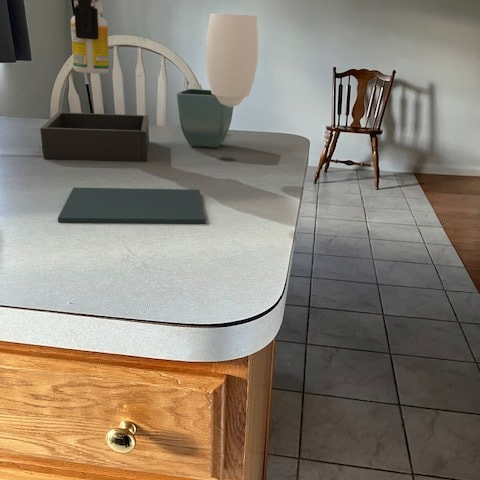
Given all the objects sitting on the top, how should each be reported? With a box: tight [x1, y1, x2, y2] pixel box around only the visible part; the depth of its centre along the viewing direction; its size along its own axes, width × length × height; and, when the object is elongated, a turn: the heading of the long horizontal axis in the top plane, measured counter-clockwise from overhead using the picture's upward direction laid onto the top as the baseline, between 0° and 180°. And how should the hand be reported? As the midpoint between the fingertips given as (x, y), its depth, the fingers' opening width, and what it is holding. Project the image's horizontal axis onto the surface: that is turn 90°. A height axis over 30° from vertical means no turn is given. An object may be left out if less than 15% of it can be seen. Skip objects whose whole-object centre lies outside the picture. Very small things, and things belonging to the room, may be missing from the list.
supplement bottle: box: [70, 0, 110, 74], centre depth 82 cm, size 5×5×10 cm
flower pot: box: [176, 88, 234, 149], centre depth 96 cm, size 9×9×9 cm
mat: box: [57, 187, 207, 225], centre depth 65 cm, size 16×12×1 cm
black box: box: [39, 111, 150, 162], centre depth 90 cm, size 16×16×4 cm
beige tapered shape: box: [205, 12, 259, 108], centre depth 78 cm, size 7×7×21 cm
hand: (89, 36), depth 82 cm, fingers closed on supplement bottle, 5 cm apart
